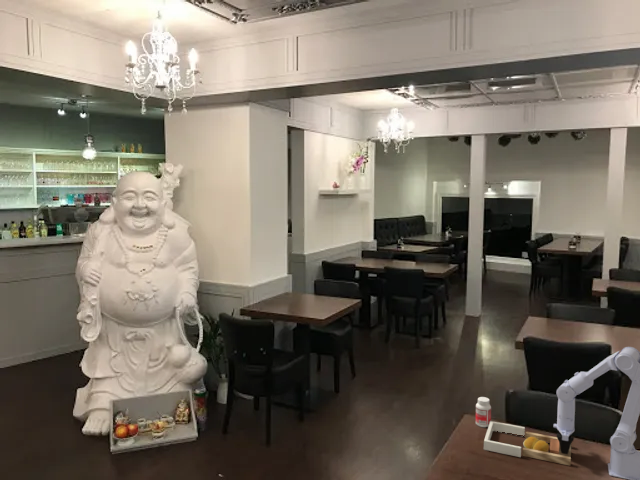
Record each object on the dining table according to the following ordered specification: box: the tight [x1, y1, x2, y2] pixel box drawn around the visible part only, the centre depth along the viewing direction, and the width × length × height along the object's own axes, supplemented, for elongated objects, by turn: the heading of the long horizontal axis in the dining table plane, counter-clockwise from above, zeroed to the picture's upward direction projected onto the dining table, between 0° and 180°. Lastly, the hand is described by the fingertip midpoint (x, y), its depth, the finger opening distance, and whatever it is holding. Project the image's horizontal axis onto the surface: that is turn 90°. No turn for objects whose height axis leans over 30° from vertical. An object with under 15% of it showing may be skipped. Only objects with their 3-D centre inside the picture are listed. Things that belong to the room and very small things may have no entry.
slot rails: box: [522, 431, 572, 466], centre depth 190 cm, size 16×15×2 cm
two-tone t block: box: [549, 439, 572, 457], centre depth 188 cm, size 7×9×6 cm
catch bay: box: [483, 420, 526, 458], centre depth 197 cm, size 13×18×4 cm
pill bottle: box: [475, 396, 492, 428], centre depth 211 cm, size 6×6×11 cm
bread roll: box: [522, 437, 550, 453], centre depth 192 cm, size 8×9×4 cm
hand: (564, 450), depth 187 cm, fingers open, 4 cm apart
